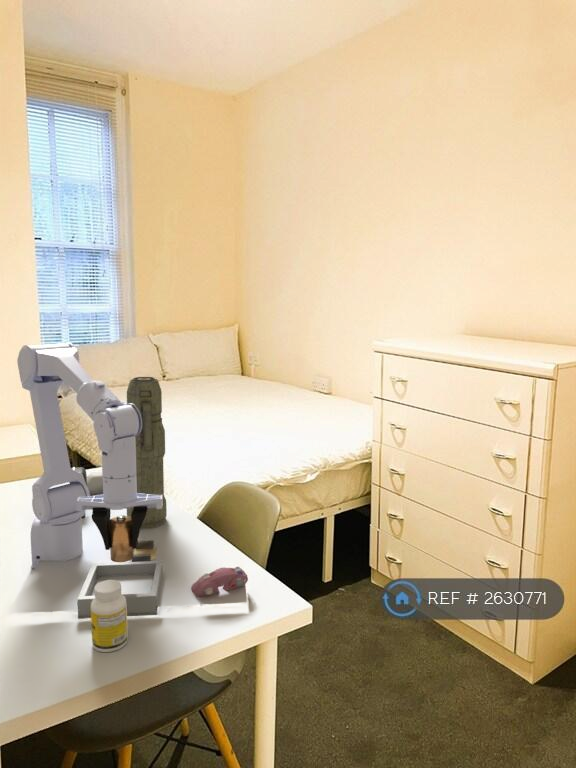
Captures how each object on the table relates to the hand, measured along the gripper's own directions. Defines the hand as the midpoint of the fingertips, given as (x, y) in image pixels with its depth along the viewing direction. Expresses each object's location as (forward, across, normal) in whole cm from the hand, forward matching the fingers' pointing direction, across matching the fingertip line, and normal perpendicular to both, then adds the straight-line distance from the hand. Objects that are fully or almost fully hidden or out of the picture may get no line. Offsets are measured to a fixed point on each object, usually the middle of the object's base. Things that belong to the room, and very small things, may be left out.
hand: (121, 546), depth 106 cm
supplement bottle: (+10, 0, -14) cm, 17 cm away
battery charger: (+10, -16, +40) cm, 44 cm away
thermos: (+10, +1, +31) cm, 33 cm away
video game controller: (+10, +17, -1) cm, 20 cm away
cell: (+2, 0, 0) cm, 2 cm away
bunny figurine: (+10, -14, +56) cm, 59 cm away
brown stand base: (+10, +2, +14) cm, 17 cm away
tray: (+10, 0, 0) cm, 10 cm away
